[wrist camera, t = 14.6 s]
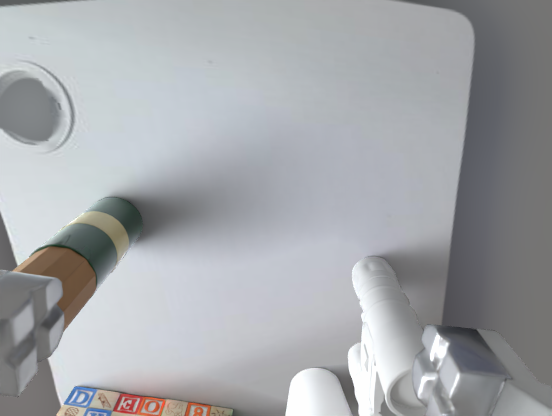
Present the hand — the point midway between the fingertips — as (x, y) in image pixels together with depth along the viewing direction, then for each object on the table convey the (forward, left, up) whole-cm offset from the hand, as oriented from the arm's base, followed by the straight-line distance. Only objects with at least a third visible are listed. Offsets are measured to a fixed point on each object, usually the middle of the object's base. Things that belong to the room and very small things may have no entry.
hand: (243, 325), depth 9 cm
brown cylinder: (+14, -16, -22) cm, 31 cm away
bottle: (+14, -16, -34) cm, 40 cm away
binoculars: (+22, +15, -34) cm, 43 cm away
